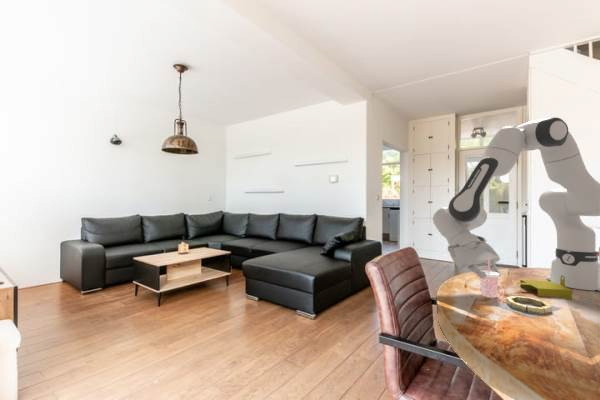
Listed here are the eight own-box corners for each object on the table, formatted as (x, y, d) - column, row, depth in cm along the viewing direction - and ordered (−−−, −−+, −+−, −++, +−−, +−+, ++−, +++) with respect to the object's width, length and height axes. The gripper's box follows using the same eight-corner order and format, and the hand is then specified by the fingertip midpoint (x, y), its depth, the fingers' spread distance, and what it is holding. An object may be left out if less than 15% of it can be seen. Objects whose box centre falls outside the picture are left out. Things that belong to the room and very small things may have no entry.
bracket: (505, 268, 113) (548, 269, 110) (504, 287, 113) (548, 289, 110) (529, 279, 97) (579, 281, 95) (528, 302, 97) (579, 304, 95)
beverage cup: (474, 295, 103) (474, 256, 103) (490, 294, 103) (490, 256, 103) (486, 301, 97) (487, 260, 96) (503, 300, 97) (504, 260, 97)
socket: (519, 299, 96) (519, 294, 96) (557, 310, 86) (557, 304, 86) (500, 304, 91) (500, 299, 91) (538, 316, 82) (538, 310, 82)
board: (524, 300, 97) (524, 297, 97) (561, 311, 88) (561, 308, 88) (495, 308, 90) (495, 305, 90) (532, 321, 81) (532, 317, 81)
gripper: (451, 240, 102) (478, 274, 93) (486, 237, 110) (514, 267, 101) (440, 251, 106) (465, 284, 97) (475, 246, 114) (501, 277, 105)
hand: (490, 276), depth 99 cm, fingers closed on beverage cup, 6 cm apart
